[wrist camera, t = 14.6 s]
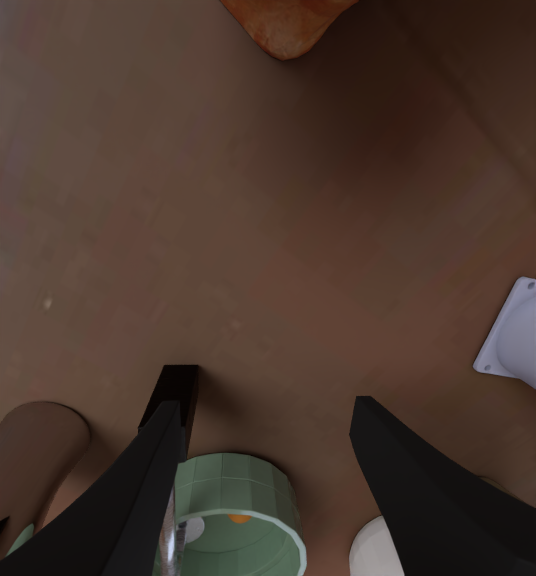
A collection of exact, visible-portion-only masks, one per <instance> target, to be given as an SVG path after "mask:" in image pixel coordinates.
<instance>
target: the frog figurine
mask: <svg viewBox="0 0 536 576" xmlns="http://www.w3.org/2000/svg"><path fill="white" fill-rule="evenodd" d="M220 1H221V2H222V3H223V5H224V6H225V7H226V8H227V9H228V10H229V11H230V13H231V14H232V15H233V16H234V17H235V18H236V20H237V21H238V22H239V23H240V24H241V25H242V27H243V28H244V29H245V30H246V31H247V33H248V34H249V35H250V36H251V38H252V39H253V40H254V41H255V42H256V43H257V44H258V45H259V46H260V47H261V48H262V49H263V50H264V51H265V52H267V53H268V54H269V55H270V56H272V57H275V58H277V59H279V60H281V61H283V60H289V59H294V58H298V57H299V56H301V55H303V54H305V53H306V52H308V51H310V49H311V48H312V47H313V46H314V45H315V44H316V42H317V41H318V40H319V39H320V38H321V37H322V35H323V34H324V32H325V31H326V29H327V28H328V26H329V25H330V24H331V23H332V22H333V21H334V20H335V19H336V18H337V17H338V16H339V15H340V14H341V13H342V12H343V11H344V10H346V9H347V8H349V7H350V6H351V5H353V4H355V3H356V2H358V1H360V0H220Z"/></svg>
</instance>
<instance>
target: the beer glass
mask: <svg viewBox="0 0 536 576" xmlns="http://www.w3.org/2000/svg"><path fill="white" fill-rule="evenodd" d="M90 442H91V435H90V430H89V428H88V426H87V424H86V422H85V421H84V420H83V419H82V418H81V417H80V416H79V415H78V414H77V413H76V412H74V411H72V410H71V409H69V408H67V407H65V406H62V405H59V404H55V403H49V402H33V403H27V404H24V405H21V406H19V407H17V408H15V409H13V410H12V411H10V412H9V413H8V414H7V415H6V416H5V417H4V418H3V420H2V421H1V423H0V561H1V560H2V559H3V558H5V557H6V556H8V555H9V554H10V553H12V552H13V551H14V550H16V549H17V548H18V547H20V546H21V545H22V544H24V543H25V542H26V541H27V540H29V539H30V538H31V537H32V536H34V535H35V534H36V533H37V532H39V531H40V530H41V529H42V526H43V523H44V521H45V518H46V516H47V513H48V511H49V508H50V506H51V504H52V502H53V500H54V498H55V497H56V494H57V492H58V490H59V488H60V487H61V485H62V483H63V482H64V480H65V479H66V478H67V476H68V475H69V474H70V472H71V471H72V470H73V469H74V467H75V466H76V465H77V464H78V463H79V461H80V460H81V459H82V458H83V456H84V455H85V454H86V452H87V451H88V448H89V446H90Z"/></svg>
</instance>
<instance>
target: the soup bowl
mask: <svg viewBox="0 0 536 576" xmlns="http://www.w3.org/2000/svg"><path fill="white" fill-rule="evenodd" d="M175 509H176V525H177V524H179V523H182V522H184V521H187V520H189V519H192V518H198V517H204V516H206V518H205V528H204V531H203V533H202V535H201V536H200V537H199V538H198V539H196V540H194V541H192V542H190V543H186V544H185V547H184V554H183V561H182V568H181V575H180V576H303V573H304V571H305V569H306V566H307V559H306V546H305V541H304V536H303V531H302V526H301V520H300V516H299V511H298V505H297V500H296V495H295V491H294V489H293V487H292V485H291V484H290V482H289V480H288V478H287V477H286V475H285V474H284V473H282V472H281V471H280V470H279V469H277V468H276V467H275V466H273V465H272V464H271V463H269V462H267V461H264V460H261V459H259V458H256V457H253V456H250V455H244V454H238V453H214V454H208V455H203V456H198V457H194V458H192V459H189V460H187V461H186V462H185V463H179V464H178V468H177V472H176V476H175ZM228 514H235V515H250V516H252V517H251V518H250V519H249V520H248V521H247V522H245V523H235V522H234V521H232V520H231V519H230V518H229V516H228ZM152 576H161V571H160V552H159V542H158V546H157V550H156V556H155V561H154V567H153V573H152Z"/></svg>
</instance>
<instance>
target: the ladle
mask: <svg viewBox="0 0 536 576" xmlns="http://www.w3.org/2000/svg"><path fill="white" fill-rule="evenodd" d="M197 398H198V365H164V367H163V369H162V372H161V374H160V376H159V379H158V381H157V384H156V386H155V388H154V391H153V393H152V396H151V398H150V400H149V403H148V405H147V408H146V410H145V413H144V415H143V417H142V420H141V422H140V425H139V427H138V433H139V432H140V431H141V430H142V428H143V427H144V426H145V424H146V423H147V422H148V420H149V419H150V418H151V416H152V415H153V414H154V412H155V411H156V409H157V408H158V406H159V405H160V404H161V403H162V402H163V401H175V400H180V420H181V441H182V442H181V448H180V455H179V461H178V463H185V462H186V459H187V454H188V448H189V443H190V437H191V431H192V426H193V420H194V415H195V409H196V404H197ZM205 518H206V516H204V517H198V518H192V519H189V520H187V521H184V522H182V523H179V524H177V525H176V509H175V480H174V484H173V487H172V491H171V495H170V499H169V503H168V506H167V510H166V514H165V518H164V522H163V525H162V529H161V533H160V537H159V552H160V571H161V576H180V575H181V568H182V561H183V554H184V547H185V544H186V543H190V542H192V541H194V540H196V539H198V538H199V537H200V536H201V535H202V533H203V531H204V528H205Z"/></svg>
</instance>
